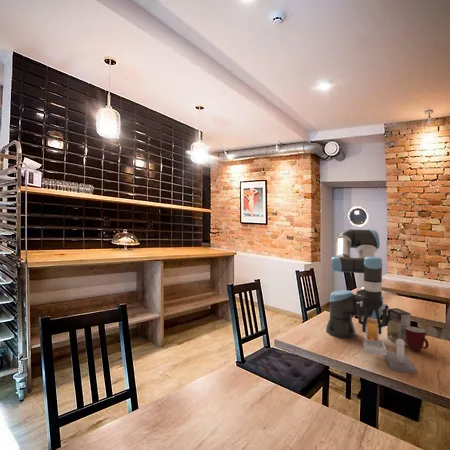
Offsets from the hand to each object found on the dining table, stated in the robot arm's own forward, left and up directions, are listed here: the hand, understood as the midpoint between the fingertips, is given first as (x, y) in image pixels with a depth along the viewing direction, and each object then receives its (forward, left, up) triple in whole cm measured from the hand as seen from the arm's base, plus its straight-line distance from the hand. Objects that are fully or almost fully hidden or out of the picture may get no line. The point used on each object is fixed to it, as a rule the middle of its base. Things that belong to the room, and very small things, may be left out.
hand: (371, 339), depth 136 cm
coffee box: (-22, +16, -7) cm, 28 cm away
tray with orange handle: (+5, 0, -2) cm, 5 cm away
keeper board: (+6, +10, -7) cm, 13 cm away
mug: (-12, +22, -7) cm, 26 cm away
